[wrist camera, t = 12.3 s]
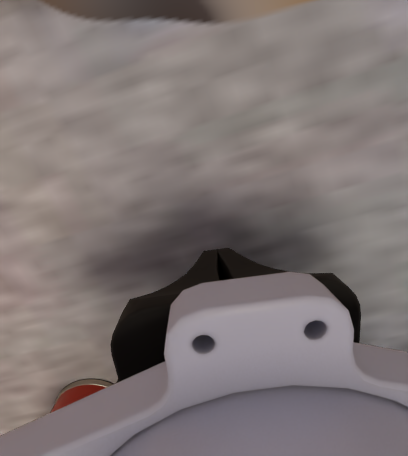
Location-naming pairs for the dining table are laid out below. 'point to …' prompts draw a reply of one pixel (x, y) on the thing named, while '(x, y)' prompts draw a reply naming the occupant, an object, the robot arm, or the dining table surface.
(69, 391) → the can
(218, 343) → the robot arm
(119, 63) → the dining table surface
